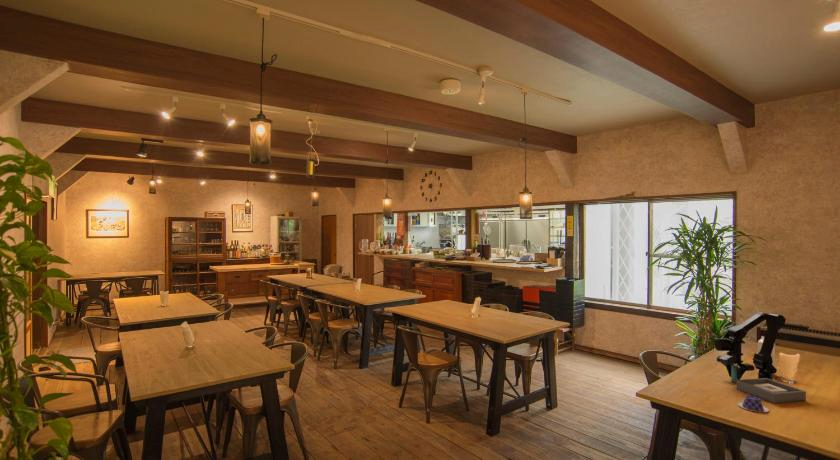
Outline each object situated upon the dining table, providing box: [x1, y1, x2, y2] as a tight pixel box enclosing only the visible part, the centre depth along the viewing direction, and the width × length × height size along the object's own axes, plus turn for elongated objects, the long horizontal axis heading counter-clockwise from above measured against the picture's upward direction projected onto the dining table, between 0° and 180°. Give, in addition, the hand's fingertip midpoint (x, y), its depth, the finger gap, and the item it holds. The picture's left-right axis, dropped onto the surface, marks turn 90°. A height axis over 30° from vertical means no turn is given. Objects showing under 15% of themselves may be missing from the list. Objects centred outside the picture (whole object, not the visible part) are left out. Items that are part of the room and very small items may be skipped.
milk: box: [756, 335, 776, 375], centre depth 261 cm, size 6×6×22 cm
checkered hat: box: [737, 395, 770, 413], centre depth 209 cm, size 12×12×5 cm
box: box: [735, 378, 807, 405], centre depth 226 cm, size 20×20×5 cm
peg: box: [730, 365, 739, 384], centre depth 245 cm, size 3×3×9 cm
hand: (734, 378), depth 245 cm, fingers open, 5 cm apart
